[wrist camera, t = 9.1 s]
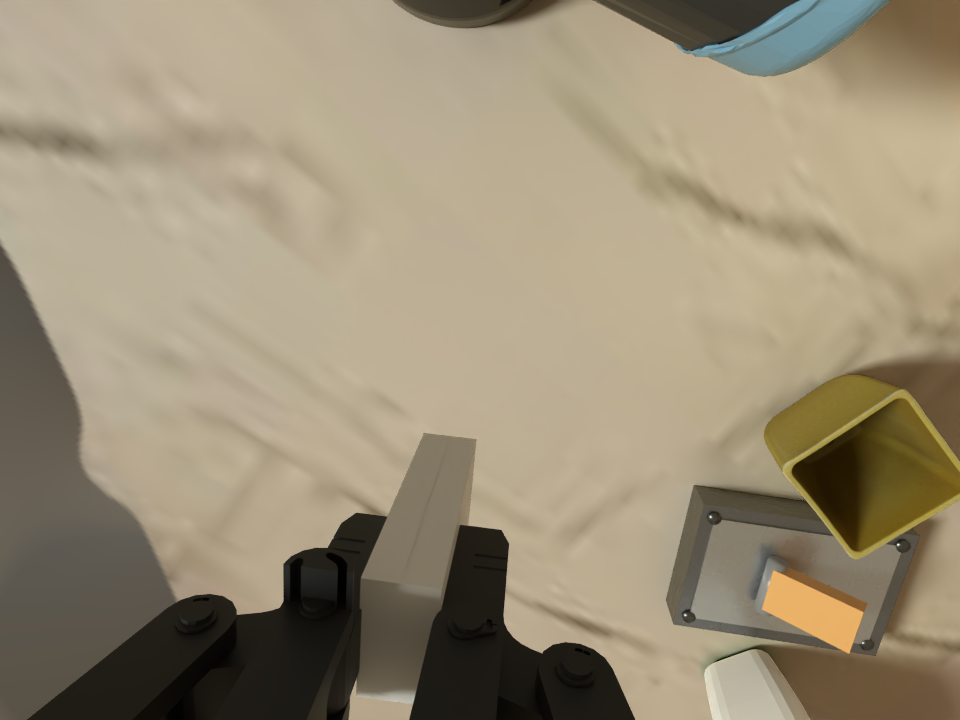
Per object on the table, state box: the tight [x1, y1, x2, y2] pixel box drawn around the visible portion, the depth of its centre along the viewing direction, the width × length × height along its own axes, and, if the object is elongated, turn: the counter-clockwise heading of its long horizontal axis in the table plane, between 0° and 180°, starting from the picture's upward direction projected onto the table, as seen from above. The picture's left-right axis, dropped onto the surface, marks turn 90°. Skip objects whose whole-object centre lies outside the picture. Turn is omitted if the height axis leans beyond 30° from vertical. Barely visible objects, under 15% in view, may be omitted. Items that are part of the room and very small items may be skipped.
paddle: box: [754, 556, 868, 653], centre depth 45 cm, size 4×1×7 cm
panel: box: [666, 485, 920, 656], centre depth 49 cm, size 11×16×3 cm
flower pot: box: [764, 375, 960, 560], centre depth 43 cm, size 9×9×9 cm
